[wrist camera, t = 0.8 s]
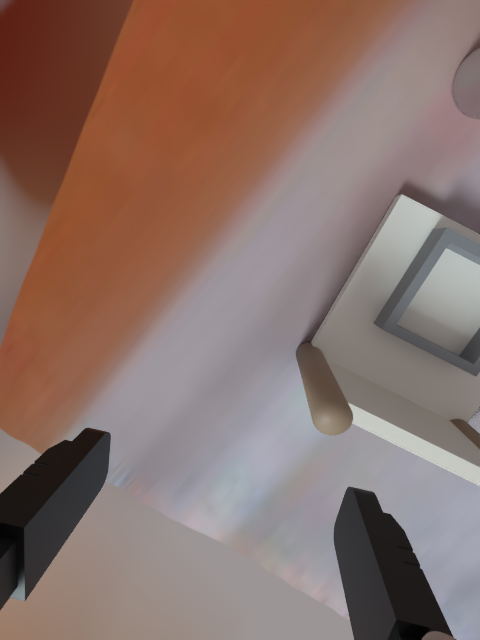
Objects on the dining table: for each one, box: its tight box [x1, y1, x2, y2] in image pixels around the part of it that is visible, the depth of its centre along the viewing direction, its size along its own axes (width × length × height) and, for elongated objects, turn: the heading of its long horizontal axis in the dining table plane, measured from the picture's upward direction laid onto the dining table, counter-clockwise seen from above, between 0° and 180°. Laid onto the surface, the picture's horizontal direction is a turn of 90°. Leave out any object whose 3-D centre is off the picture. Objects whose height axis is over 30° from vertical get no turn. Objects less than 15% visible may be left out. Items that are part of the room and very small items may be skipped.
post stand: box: [296, 194, 480, 486], centre depth 28 cm, size 21×22×14 cm
